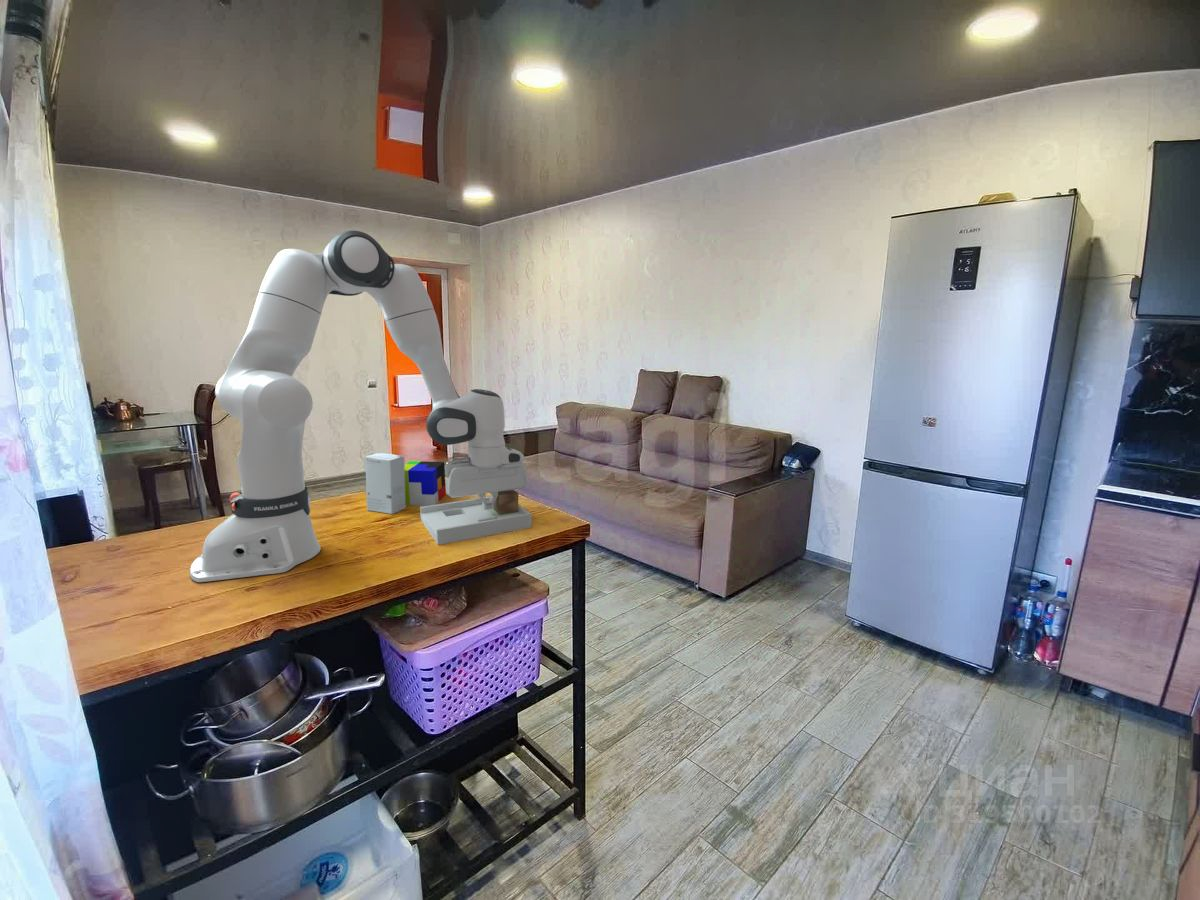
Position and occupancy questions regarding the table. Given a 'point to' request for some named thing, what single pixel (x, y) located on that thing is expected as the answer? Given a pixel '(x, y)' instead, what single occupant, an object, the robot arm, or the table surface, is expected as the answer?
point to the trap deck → (470, 520)
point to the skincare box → (385, 483)
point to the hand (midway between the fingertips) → (488, 508)
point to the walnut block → (506, 502)
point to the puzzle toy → (424, 483)
